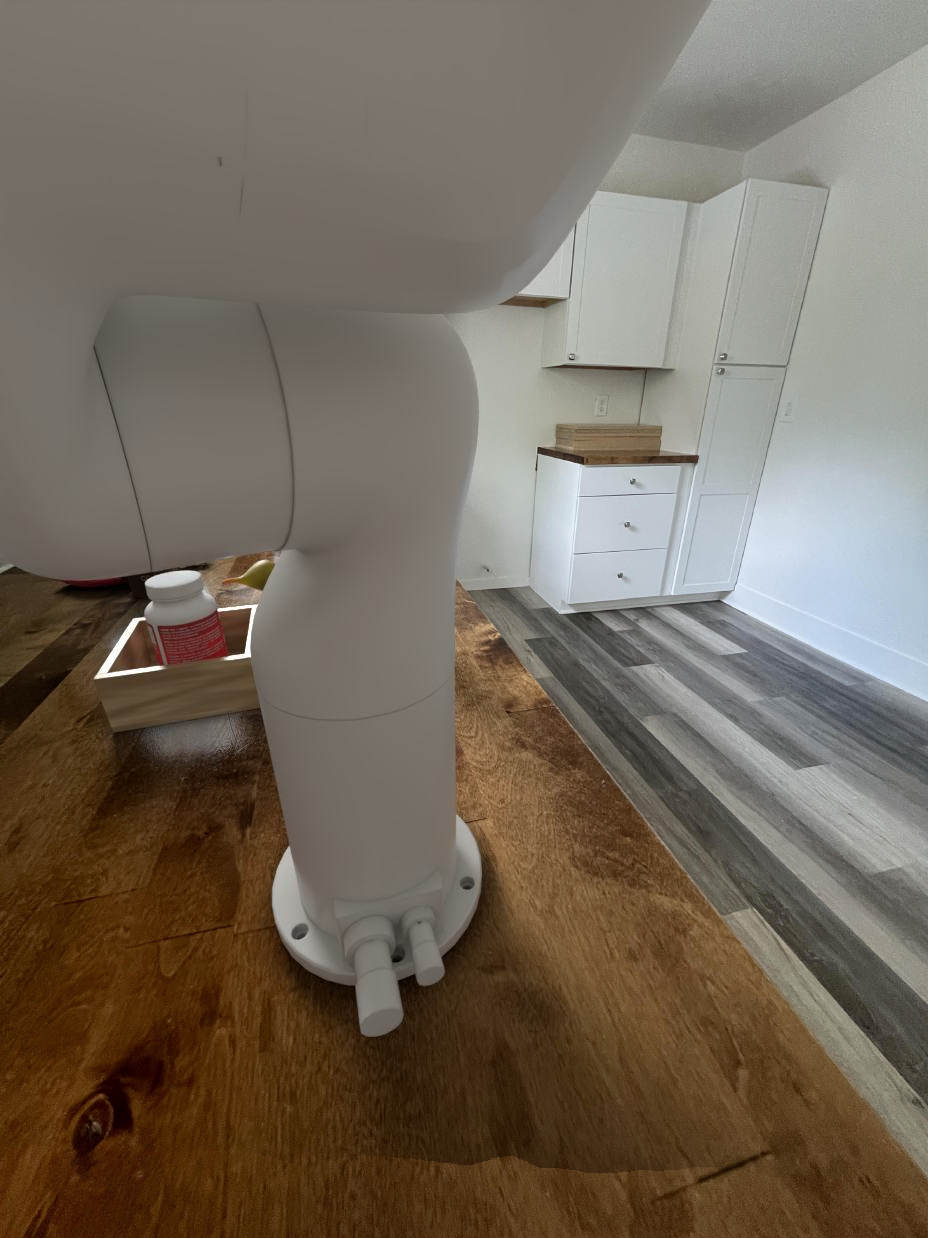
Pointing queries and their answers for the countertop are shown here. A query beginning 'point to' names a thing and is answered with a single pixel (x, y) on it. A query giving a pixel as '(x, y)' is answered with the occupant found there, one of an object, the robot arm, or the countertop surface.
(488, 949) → the countertop surface
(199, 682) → the holder
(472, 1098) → the countertop surface
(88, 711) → the countertop surface
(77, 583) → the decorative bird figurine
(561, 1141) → the countertop surface
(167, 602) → the pill bottle
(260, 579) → the neti pot
